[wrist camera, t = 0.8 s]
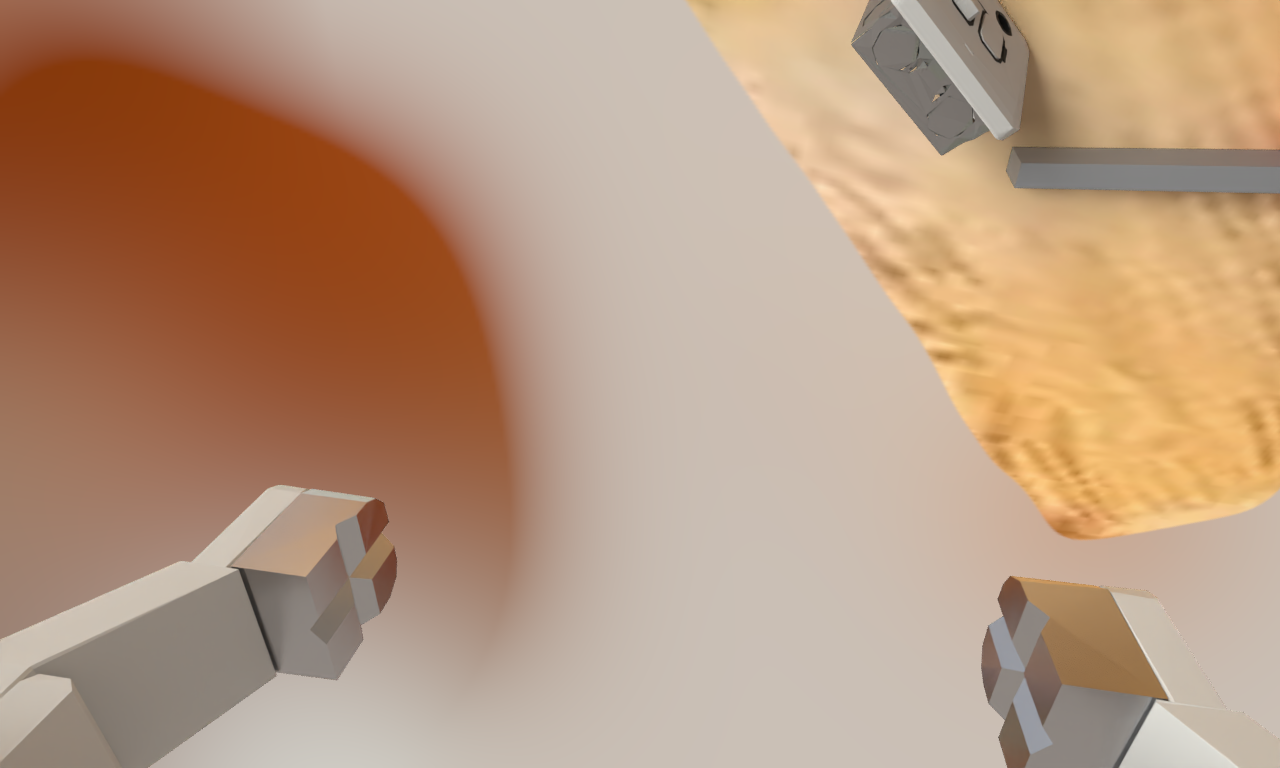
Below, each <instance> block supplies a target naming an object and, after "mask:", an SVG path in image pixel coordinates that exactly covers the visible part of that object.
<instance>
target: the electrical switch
mask: <svg viewBox="0 0 1280 768" xmlns="http://www.w3.org/2000/svg"><path fill="white" fill-rule="evenodd" d="M895 26H897V27H895ZM867 30H868V31H867ZM863 33H864V34H863ZM862 34H863V35H862ZM861 35H862V36H861ZM859 36H861V37H859ZM858 37H859V38H858ZM857 38H858V39H857ZM855 39H857V40H856V41H855V42H853V41H854V40H855ZM852 42H853V43H852V44H851V45H852V46H853V48H854V49H855V50H856V51H857V53H858V54H859V55H860V56H861V58H862V59H863V60H864V61H865V62H866V64H867V65H868V66H869V67H870V69H871V70H872V71H873V72H874V74H875V75H876V76H877V77H878V78H879V80H880V81H881V82H882V83H883V85H884V86H885V87H886V88H887V90H888V91H889V92H890V93H891V94H892V96H893V97H894V98H895V99H896V101H897V102H898V103H899V104H900V106H901V107H902V108H903V109H904V110H905V112H906V113H907V114H908V115H909V117H910V118H911V119H912V120H913V121H914V123H915V124H916V125H917V126H918V128H919V129H920V130H921V131H922V133H923V134H924V135H925V136H926V137H927V139H928V140H929V141H930V142H931V144H932V145H933V146H934V147H935V149H936V150H937V151H938V152H939V153H940V155H941V156H942V155H944V154H945V153H947V152H949V151H950V150H952V149H954V148H955V147H957V146H959V145H960V144H962V143H964V142H967V141H970V140H973V139H975V138H977V137H978V136H980V135H982V134H983V133H985V132H988V131H991V133H992V134H993V135H994V137H995V138H996V139H997V140H1004V139H1006V138H1007V137H1009V136H1010V135H1012V134H1014V133H1015V132H1017V131H1018V130H1020V123H1021V115H1022V107H1023V99H1024V92H1025V84H1026V76H1027V68H1028V60H1029V52H1030V51H1029V48H1028V46H1027V43H1026V40H1025V39H1024V37H1023V36H1022V34H1021V33H1020V31H1019V30H1018V29H1017V27H1016V26H1015V24H1014V23H1013V22H1012V20H1011V19H1010V17H1009V16H1008V14H1007V13H1006V12H1005V10H1004V9H1003V7H1002V6H1001V5H1000V3H999V2H998V0H869V3H868V5H867V7H866V10H865V12H864V14H863V16H862V19H861V21H860V23H859V26H858V28H857V30H856V32H855V35H854V37H853V39H852ZM917 53H918V55H917ZM876 61H877V63H878V65H877V63H876ZM926 63H927V64H926ZM916 66H917V68H916V70H914V71H912V72H910V71H911V70H913V69H914V68H915V67H916ZM904 67H906V68H905V69H904V70H900V69H902V68H904ZM909 72H910V73H909ZM937 94H939V95H940V97H939V98H937V99H936V100H935V101H934V102H932V101H933V99H934V96H935V95H937ZM927 117H928V118H927ZM935 134H936V135H938V136H936V135H935Z"/></svg>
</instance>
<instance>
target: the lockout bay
mask: <svg viewBox="0 0 1280 768" xmlns="http://www.w3.org/2000/svg"><path fill="white" fill-rule="evenodd" d="M1006 172H1007V174H1008V176H1009V178H1010V180H1011V182H1012V184H1013V186H1014V188H1041V189H1090V190H1138V191H1187V192H1235V193H1280V150H1237V149H1144V148H1050V147H1012V151H1011V155H1010V158H1009V162H1008V166H1007V169H1006Z"/></svg>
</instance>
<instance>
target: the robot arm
mask: <svg viewBox="0 0 1280 768" xmlns="http://www.w3.org/2000/svg"><path fill="white" fill-rule="evenodd" d="M388 523H389V520H388V515H387V512H386V508H385V504H384V503H383V502H382V501H380V500H378V499H376V498H371V497H364V496H357V495H350V494H343V493H337V492H330V491H323V490H316V489H305V488H298V487H291V486H285V485H277V486H274V487H272V488H268V489H267V490H266V491H265V492H264V493H263V494H262V495H261V496H260V497H259V498H258V499H256V501H255V502H253V503H252V504H251V505H250V506H249V507H248V508H247V509H246V510H245V511H244V512H243V513H242V514H241V515H240V516H239V517H238V518H237V519H236V520H235V521H234V522H233V523H232V524H230V525H229V526H228V527H227V528H226V529H225V530H224V531H223V532H222V533H221V534H220V535H219V536H218V537H217V538H216V539H215V540H214V541H213V542H212V543H211V544H210V545H209V546H208V547H207V548H206V549H205V550H204V551H202V552H201V553H200V554H199V555H198V556H197V557H196V558H195V559H194V560H193V561H192V562H183V561H179V562H177V563H175V564H173V565H171V566H168V567H166V568H163V569H161V570H159V571H157V572H154V573H152V574H150V575H147V576H145V577H143V578H141V579H138V580H136V581H134V582H131V583H129V584H127V585H125V586H122V587H120V588H118V589H115V590H113V591H111V592H108V593H106V594H104V595H102V596H99V597H97V598H95V599H92V600H90V601H88V602H86V603H84V604H81V605H79V606H77V607H74V608H72V609H70V610H67V611H65V612H63V613H60V614H58V615H56V616H54V617H52V618H49V619H47V620H44V621H42V622H40V623H37V624H35V625H33V626H31V627H28V628H26V629H24V630H21V631H19V632H17V633H15V634H12V635H10V636H8V637H6V638H3V639H1V640H0V768H148V767H150V766H151V765H152V764H154V763H155V762H157V761H158V760H159V759H161V758H162V757H164V756H165V755H166V754H168V753H169V752H171V751H172V750H173V749H175V748H176V747H178V746H179V745H180V744H182V743H183V742H185V741H186V740H187V739H189V738H190V737H192V736H193V735H194V734H196V733H197V732H199V731H200V730H201V729H203V728H204V727H206V726H207V725H208V724H210V723H211V722H213V721H214V720H215V719H217V718H218V717H220V716H221V715H222V714H224V713H225V712H227V711H228V710H229V709H231V708H232V707H234V706H235V705H236V704H238V703H239V702H241V701H242V700H243V699H245V698H246V697H248V696H249V695H250V694H252V693H253V692H255V691H256V690H257V689H259V688H260V687H262V686H263V685H264V684H266V683H267V682H268V681H270V680H271V679H273V678H274V677H276V672H279V673H286V674H294V675H301V676H309V677H316V678H324V679H331V680H337V679H338V678H339V677H340V675H341V673H342V672H343V670H344V669H345V667H346V665H347V664H348V662H349V661H350V659H351V658H352V656H353V655H354V653H355V652H356V650H357V649H358V647H359V646H360V644H361V643H362V641H363V634H362V628H361V625H362V624H364V623H365V622H367V621H369V620H370V619H372V618H374V617H375V616H377V615H379V614H380V613H381V611H382V610H383V608H384V606H385V604H386V603H387V602H388V600H389V598H390V596H391V592H392V589H393V586H394V583H395V580H396V574H397V557H396V552H395V547H394V546H393V545H392V544H391V543H390V541H389V540H388V539H387V538H386V537H385V536H384V535H383V534H382V531H383V530H384V528H385V527H386V526H387V524H388ZM998 602H999V605H1000V608H1001V611H1002V614H1003V616H1002V617H1001V618H999V619H998V620H996V621H995V622H993V623H991V624H990V625H989V626H988V629H987V632H986V636H985V639H984V642H983V646H982V663H981V669H982V677H983V684H984V688H985V692H986V696H987V699H988V703H989V705H991V706H992V708H994V710H995V711H997V713H998V714H999V715H1000V716H1001V717H1002V718H1003V719H1004V720H1005V722H1004V725H1003V727H1002V729H1001V732H1000V735H999V737H998V738H999V741H1000V745H1001V748H1002V751H1003V755H1004V758H1005V761H1006V765H1007V768H1280V739H1279V738H1277V737H1276V736H1275V735H1273V734H1272V733H1271V732H1269V731H1268V730H1266V729H1265V728H1264V727H1262V726H1261V725H1260V724H1258V723H1257V722H1256V721H1254V720H1253V719H1251V718H1250V717H1249V716H1248V715H1246V714H1245V713H1243V712H1237V711H1231V710H1227V708H1226V706H1225V705H1224V703H1223V702H1222V700H1221V698H1220V697H1219V695H1218V694H1217V692H1216V691H1215V689H1214V687H1213V686H1212V684H1211V683H1210V681H1209V679H1208V678H1207V676H1206V675H1205V673H1204V672H1203V670H1202V668H1201V667H1200V665H1199V663H1198V662H1197V661H1196V659H1195V657H1194V655H1193V654H1192V652H1191V651H1190V649H1189V648H1188V646H1187V644H1186V643H1185V641H1184V639H1183V638H1182V637H1181V635H1180V633H1179V632H1178V630H1177V628H1176V627H1175V625H1174V624H1173V622H1172V620H1171V619H1170V617H1169V616H1168V614H1167V612H1166V611H1165V609H1164V608H1163V606H1162V604H1161V603H1160V601H1159V600H1158V599H1157V597H1156V596H1154V595H1153V594H1151V593H1150V592H1148V591H1147V590H1137V589H1127V588H1119V587H1109V586H1099V587H1097V586H1093V585H1085V584H1076V583H1067V582H1058V581H1050V580H1041V579H1032V578H1023V577H1015V576H1010V577H1009V578H1008V579H1007V580H1006V581H1005V583H1004V584H1003V586H1002V589H1001V591H1000V594H999V597H998Z"/></svg>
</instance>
